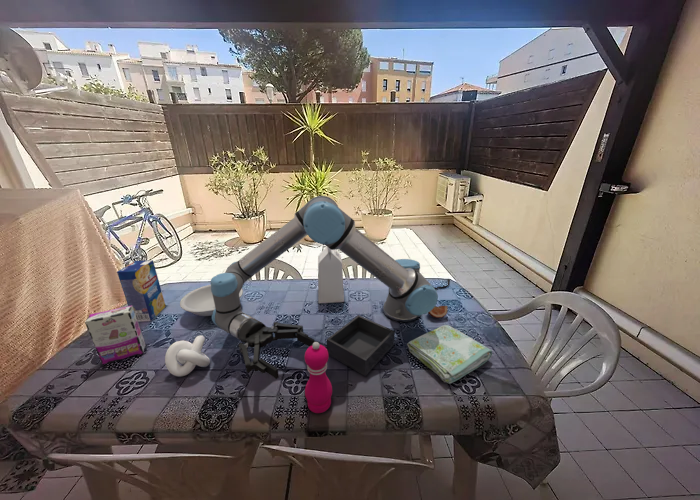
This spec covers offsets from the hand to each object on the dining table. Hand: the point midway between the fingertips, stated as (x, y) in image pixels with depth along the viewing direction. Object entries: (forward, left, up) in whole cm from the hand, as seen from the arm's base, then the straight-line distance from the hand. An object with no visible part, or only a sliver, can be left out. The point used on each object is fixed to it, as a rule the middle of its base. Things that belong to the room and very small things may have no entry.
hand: (296, 358), depth 73 cm
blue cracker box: (+41, -68, -12) cm, 81 cm away
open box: (-24, -5, -12) cm, 27 cm away
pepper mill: (-3, +7, -12) cm, 14 cm away
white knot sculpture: (+26, -26, -12) cm, 39 cm away
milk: (-31, -43, -12) cm, 55 cm away
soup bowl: (+17, -58, -12) cm, 62 cm away
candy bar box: (+46, -43, -12) cm, 64 cm away
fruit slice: (-61, -6, -12) cm, 63 cm away
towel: (-47, +12, -12) cm, 50 cm away
